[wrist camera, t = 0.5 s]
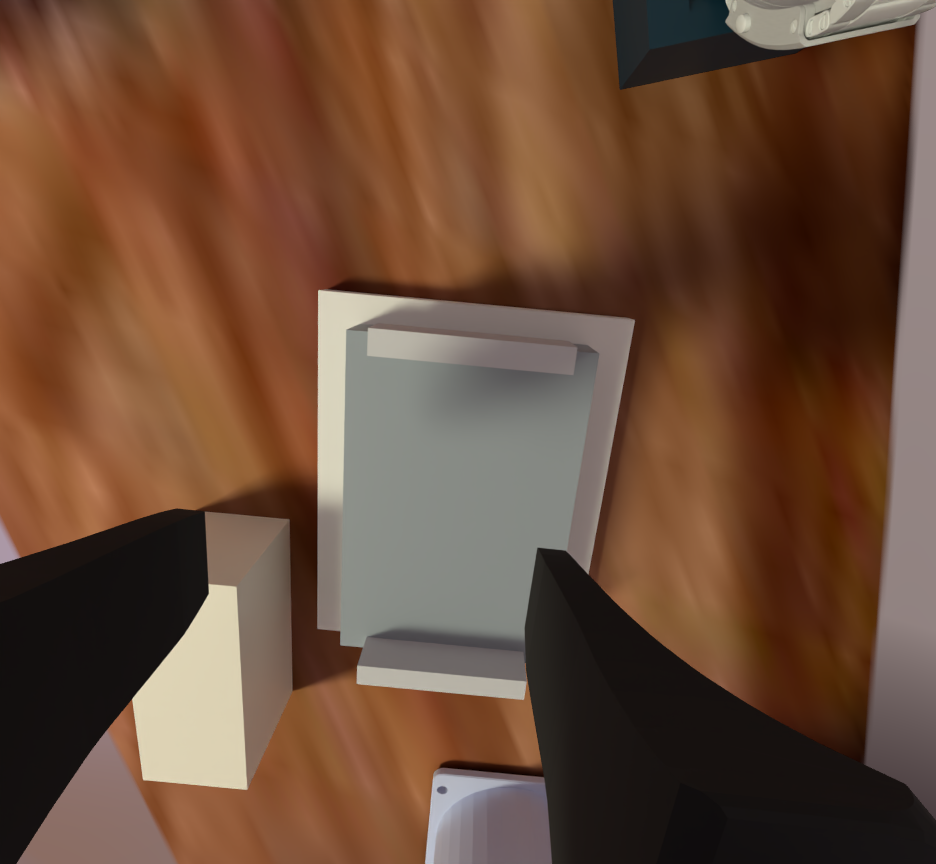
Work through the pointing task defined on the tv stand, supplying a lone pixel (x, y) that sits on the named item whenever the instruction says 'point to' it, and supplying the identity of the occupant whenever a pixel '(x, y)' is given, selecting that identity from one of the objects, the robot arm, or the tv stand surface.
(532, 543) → the display stand
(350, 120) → the tv stand surface
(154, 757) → the cream rectangular box
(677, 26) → the watch
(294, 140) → the tv stand surface
